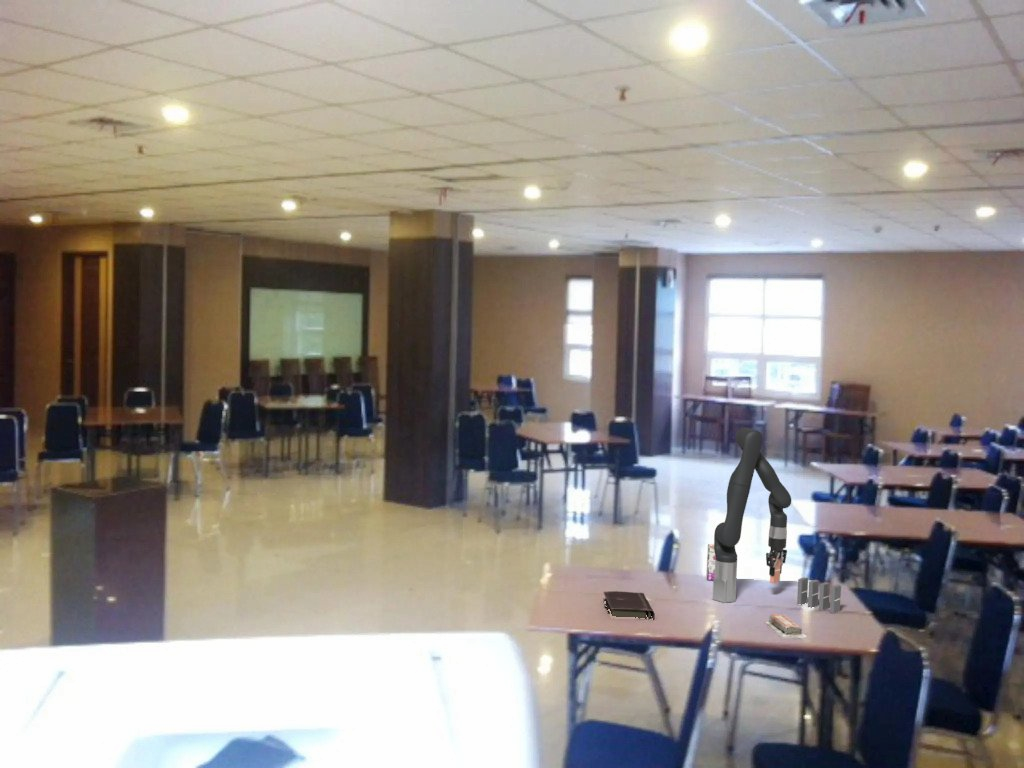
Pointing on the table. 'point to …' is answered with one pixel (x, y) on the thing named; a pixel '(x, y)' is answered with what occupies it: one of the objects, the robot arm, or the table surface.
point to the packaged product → (784, 626)
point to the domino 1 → (776, 572)
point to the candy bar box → (710, 563)
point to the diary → (628, 604)
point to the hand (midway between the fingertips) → (775, 574)
